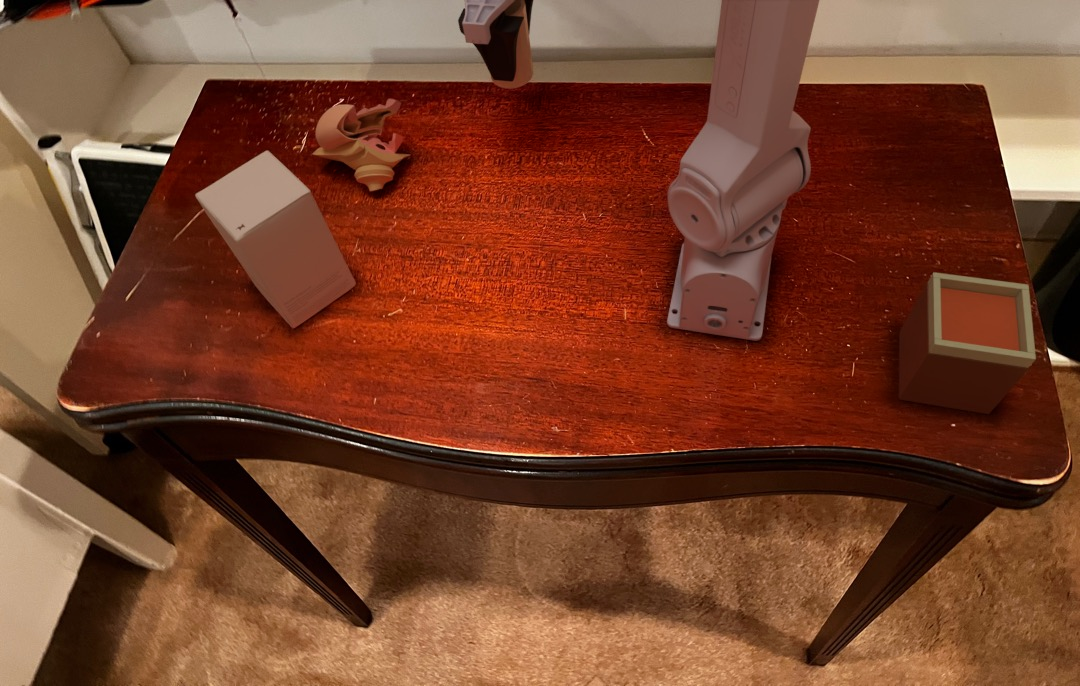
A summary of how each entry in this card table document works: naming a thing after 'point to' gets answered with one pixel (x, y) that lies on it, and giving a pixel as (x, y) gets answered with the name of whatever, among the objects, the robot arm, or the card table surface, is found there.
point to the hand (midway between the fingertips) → (510, 62)
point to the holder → (965, 343)
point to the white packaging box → (278, 237)
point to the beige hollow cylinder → (519, 49)
